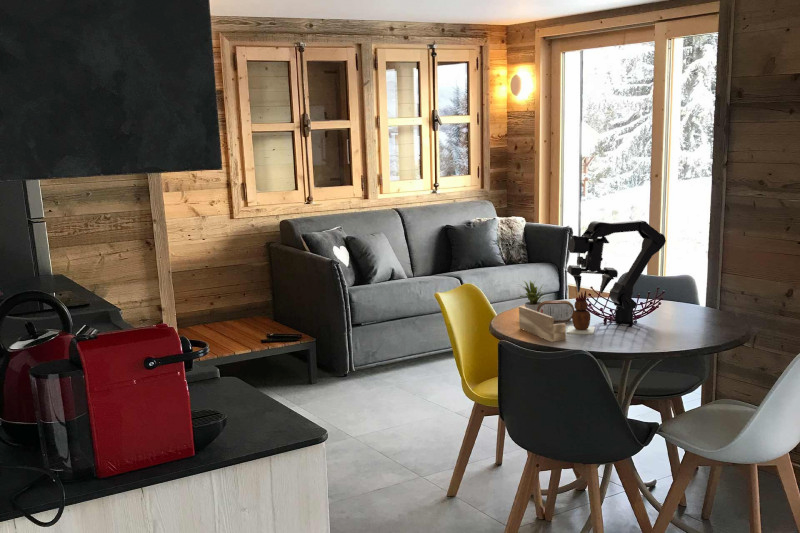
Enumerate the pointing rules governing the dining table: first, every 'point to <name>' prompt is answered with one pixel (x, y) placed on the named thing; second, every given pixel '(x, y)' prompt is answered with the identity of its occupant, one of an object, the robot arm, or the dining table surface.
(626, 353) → the dining table surface
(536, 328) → the shelf bay
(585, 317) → the wooden figurine
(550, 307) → the tin
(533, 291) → the house plant
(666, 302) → the dining table surface
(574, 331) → the board
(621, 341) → the dining table surface
